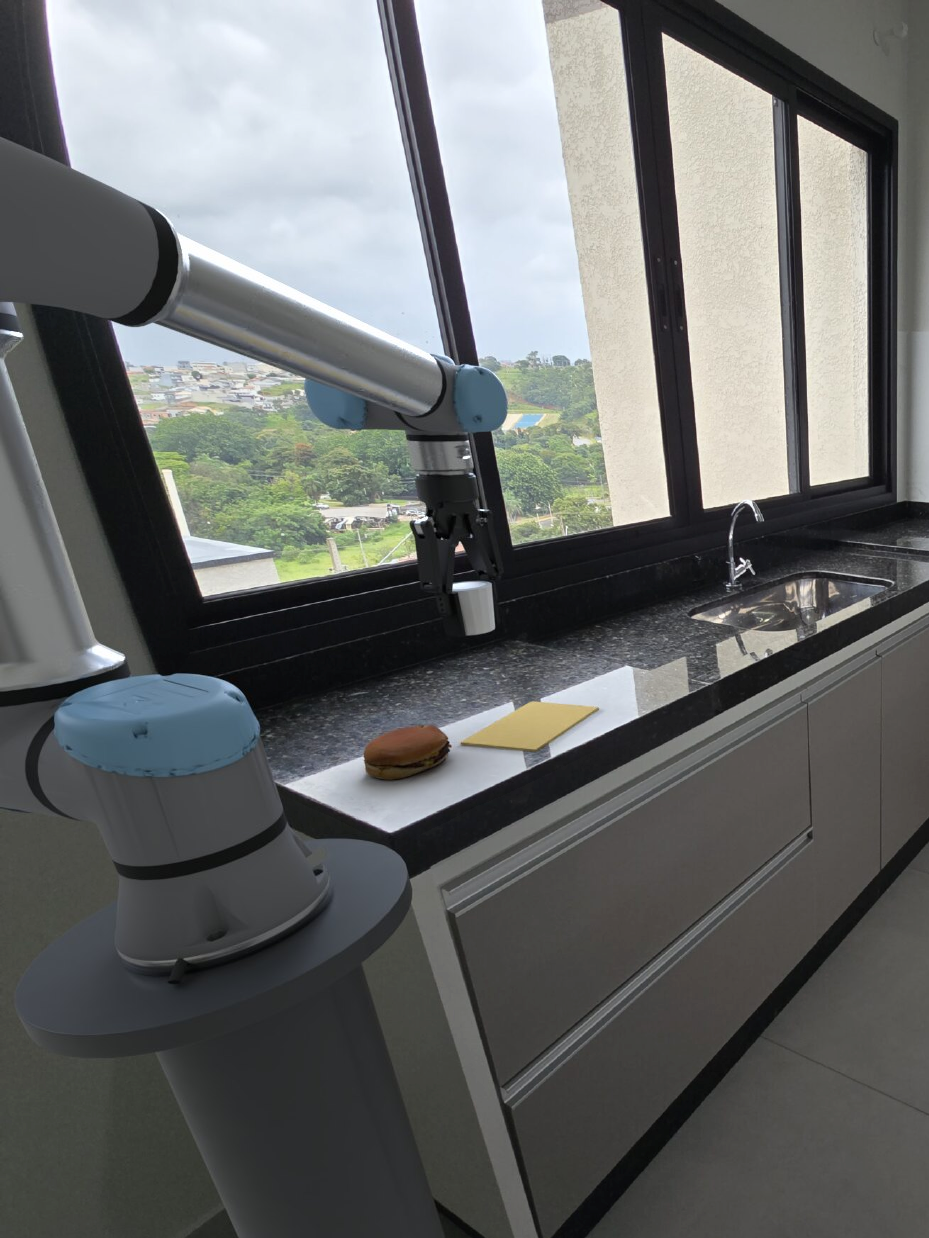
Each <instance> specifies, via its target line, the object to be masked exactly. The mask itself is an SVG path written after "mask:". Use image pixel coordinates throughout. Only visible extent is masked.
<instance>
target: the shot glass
mask: <svg viewBox="0 0 929 1238" xmlns="http://www.w3.org/2000/svg"><path fill="white" fill-rule="evenodd" d="M452 592H458V596H459V602H460V607H461V612H462V617H463V622H464V628H465V633H466V636H477V635H482V634H486V633H487V634H488V633H490V632H492V631H494V630H495V629H496V623H495V620H494V608H493V596H492V584H491V583H490V582H485V581H481V580H468V581H458V582H453V589H452Z"/></svg>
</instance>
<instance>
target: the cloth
mask: <svg viewBox="0 0 929 1238" xmlns="http://www.w3.org/2000/svg"><path fill="white" fill-rule="evenodd" d="M599 709H600V707H599V706H591V705H581V704H580V705H579V704H569V703H568V704H567V703H556V702H546V701H545V702H544V701H534V700H533V701H532V700H531V701H530V702H528V703H526V704H525V705H522V706H520V707H519V708H517V709H515V710H514V711H512V712H510V713H508V714H507V715H506V716H503V717H502V718H500V719H498V720H496V721H495V722H493V723H491V724H489V725H488V726H486V727H484V728H482V729H481V730H479V731H477V732H476V733H474V734H472V735H470V736H469V737H467V738H465V739H463V740H461V741H460V742H459V743H460V745H462V746H471V747H483V748H493V749H502V750H514V751H523V752H524V751H525V752H538V751H539V750H541V749H542V748H543V747H545V746H547V745H548V744H549V743H551V742H553V741H554V740H555V739H556V738H558V737H560V736H561V735H563V734H564V733H566V732H567V731H569V730H570V729H572V728H573V727H575V726H576V725H578V724H580V723H581V722H582V721H583V720H585V719H587V718H588V717H589V716H591V715H592V714H594V713H595V712H597V711H598V710H599Z"/></svg>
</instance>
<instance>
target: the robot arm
mask: <svg viewBox="0 0 929 1238" xmlns="http://www.w3.org/2000/svg"><path fill="white" fill-rule="evenodd" d="M14 303H17V304H27V305H28V304H29V305H39V306H46V307H47V306H48V307H56V308H62V309H66V310H71V311H75V312H79V313H84V314H88V315H91V316H95V317H99V318H102V319H103V320H108V321H110V322H113V323H116V324H119V325H122V326H125V327H129V328H141V327H145V326H148V325H151V324H155V325H158V326H161V327H163V328H166V329H169V330H172V331H174V332H177V333H179V334H182V335H185V336H187V337H188V336H189V337H190V338H193V339H197V340H199V341H202V342H204V343H208V344H210V345H212V346H215V347H219V348H220V349H224V350H227V351H229V352H232V353H235V354H237V355H240V356H243V357H246V358H249V359H251V360H254V361H257V362H260V363H263V364H265V365H268V366H271V367H274V368H276V369H279V370H281V371H284V372H287V373H289V374H292V375H295V376H299V377H301V378H303V379H304V383H303V390H304V391H303V392H304V393H305V397H306V403H307V405H308V407H309V410H310V411H311V413H312V414H313V415H314V416H315V417H316V418H317V419H318V420H319V421H320V422H321V423H322V424H324V425H325V426H327V427H329V428H332V429H335V430H348V431H349V430H350V431H353V432H355V431H357V432H358V431H359V432H361V431H362V430H363V431H364V430H367V431H368V430H369V431H371V430H373V431H374V430H378V431H379V430H380V431H381V430H382V431H404V434H405V440H406V445H407V449H408V455H409V460H410V465H411V469H412V470H413V471H416V472H417V474H415V476H414V478H413V479H414V482H415V488H416V492H417V498H418V500H419V501H420V502H422V503H423V504H424V505H425V512H424V517H423V518H421V519H412V520H410V521H409V523H408V525H409V527H410V530H411V533H412V535H413V538H414V544H415V545H414V546H415V553H416V554H415V555H416V563H417V570H418V579H419V588H420V590H421V591H422V592H426V593H429V594H431V593H432V594H434V596H435V600H436V605H437V609H438V614H439V616H441V618H442V622H443V623H442V625H443V628H444V634H445V636H446V637H460V638H463V637H466V636H467V635H466V633H465V628H464V622H463V617H462V612H461V607H460V602H459V596H458V592H452V589H453V583H454V577H455V576H454V573H455V559H456V549H457V547H459V545H460V544H461V545H462V548H463V549H464V551H465V554H466V556H467V558H468V560H469V562H470V565H471V567H472V568H473V571H474V573H475V575H476V577H477V579H478V580H480V581H485V582H490V583H491V584H492V596H493V608H494V620H495V624H500V623H501V618H500V612H499V606H498V593H497V586H496V581H501V579H502V574H503V573H504V571H505V569H504V564H503V561H502V558H501V553H500V549H499V543H498V541H497V536H496V533H495V530H494V513H493V511H492V510H491V509H478V507H477V505H476V504H475V501H477V500H478V499H479V498H480V492H479V487H478V481H477V477H476V475H475V474H474V473H472V472H471V470H473V469H474V461H473V455H472V452H471V451H472V450H471V444H470V438H469V434H476V433H482V432H485V433H486V432H494V431H496V430H498V429H500V428H501V427H502V426H503V425H504V423H505V422H506V420H507V416H508V411H509V410H508V409H509V408H508V406H509V399H508V393H507V391H506V388H505V385H503V382H502V380H501V379H500V378H499V377H498V376H497V375H496V374H495V373H494V372H493V371H492V370H490V369H488V368H486V367H483V366H479V365H470V364H469V363H462V364H461V365H457V364H455V362H454V360H453V359H452V358H450V357H449V356H447V355H445V354H437V353H428V352H425V351H423V350H422V349H419V348H418V347H415V346H413V345H411V344H409V343H406V342H405V341H403V340H401V339H398V338H396V337H394V336H391V335H389V334H388V333H385V332H383V331H381V330H379V329H378V328H375V327H373V326H371V325H369V324H367V323H364V322H362V321H361V320H358V319H356V318H354V317H353V316H351V315H348V314H346V313H344V312H342V311H340V310H338V309H336V308H334V307H332V306H329V305H327V304H326V303H323V302H321V301H319V300H317V299H315V298H312V297H310V296H308V295H306V294H304V293H302V292H300V291H298V290H296V289H294V288H293V287H290V286H288V285H286V284H284V283H282V282H279V281H277V280H275V279H273V278H271V277H269V276H266V275H265V274H263V273H261V272H259V271H256V270H254V269H252V268H250V267H248V266H246V265H244V264H242V263H239V262H238V261H237V260H233V259H231V258H229V257H227V256H225V255H223V254H221V253H219V252H217V251H215V250H213V249H210V248H208V247H207V246H204V245H202V244H200V243H198V242H196V241H194V240H192V239H191V238H189V237H188V238H187V237H185V236H183V235H182V234H179V233H178V231H177V230H176V228H175V226H174V224H173V223H172V222H171V221H170V219H169V218H168V217H167V216H166V215H165V213H163V212H162V211H160V210H158V209H157V208H155V207H153V206H150V205H149V204H147V203H145V202H143V201H141V200H139V199H136V198H135V197H132V196H131V195H128V194H126V193H124V192H122V191H121V190H118V189H117V188H115V187H112V186H111V185H108V184H106V183H104V182H102V181H100V180H98V179H95V178H93V177H91V176H89V175H87V174H85V173H83V172H80V171H79V170H77V169H75V168H72V167H70V166H67V165H66V164H64V163H61V162H59V161H57V160H55V159H53V158H51V157H48V156H46V155H44V154H42V153H40V152H37V151H35V150H32V149H30V148H27V147H25V146H23V145H21V144H18V143H16V142H14V141H11V140H9V139H6V138H4V137H2V136H0V809H2V810H6V811H8V812H13V813H19V814H20V813H21V814H36V815H37V814H38V815H45V816H50V817H55V818H60V819H61V818H62V819H67V820H71V821H79V822H83V823H90V824H95V826H96V827H97V829H98V832H99V834H100V836H101V838H102V840H103V842H104V844H105V847H106V849H107V851H108V854H109V856H110V858H111V860H112V862H113V865H114V868H115V870H116V873H117V876H118V878H119V879H118V880H119V883H118V893H117V900H118V904H117V920H116V930H115V947H116V950H117V952H118V954H119V956H120V959H121V961H122V963H123V965H124V966H125V967H126V968H127V969H129V970H130V971H132V972H135V973H138V974H142V975H149V976H170V978H169V980H168V982H167V983H169V984H179V983H180V982H181V980H182V978H183V975H184V974H189V973H195V972H199V971H204V970H208V969H212V968H216V967H220V966H223V965H226V964H230V963H233V962H236V961H238V960H241V959H244V958H247V957H249V956H252V955H254V954H256V953H259V952H261V951H263V950H265V949H268V948H270V947H272V946H274V945H276V944H278V943H279V942H281V941H283V940H285V939H287V938H288V937H290V936H292V935H293V934H295V933H297V932H298V931H300V930H301V929H303V928H304V927H305V926H307V925H308V924H309V923H310V922H312V921H313V920H314V919H315V918H316V917H317V916H318V915H319V914H321V913H322V911H323V910H324V909H325V908H326V907H327V905H328V904H329V902H330V900H331V898H332V895H333V885H332V882H331V878H330V875H329V872H328V870H327V869H326V868H325V866H324V865H323V863H322V861H324V860H325V859H326V858H327V854H326V851H325V848H324V845H323V846H321V847H320V848H319V849H317V850H316V851H315V852H312V851H311V850H310V849H309V848H308V847H307V846H306V845H305V844H304V842H303V841H304V840H302V839H301V838H300V837H299V836H298V835H297V833H296V832H295V831H294V830H293V829H292V828H291V827H290V824H289V822H288V819H287V816H286V813H285V810H284V807H283V803H282V800H281V797H280V794H279V791H278V790H279V789H278V787H277V785H276V781H275V778H274V775H273V771H272V769H271V765H270V762H269V759H268V756H267V753H266V749H265V747H264V744H263V740H262V737H261V726H260V721H259V720H258V719H257V716H256V715H255V714H254V711H253V709H252V707H251V706H250V703H249V701H248V700H247V698H246V696H245V694H244V693H243V692H242V691H241V690H240V689H239V688H238V687H237V686H236V685H234V684H232V683H230V682H229V681H226V680H223V679H220V678H218V677H214V676H208V675H202V674H195V673H173V674H170V675H161V674H149V675H148V674H146V675H138V676H133V675H132V671H131V668H130V666H129V662H128V660H127V657H126V655H125V654H124V653H122V652H120V651H117V650H115V649H113V648H110V647H108V646H106V645H104V644H102V643H100V642H99V641H98V640H97V638H96V637H95V633H94V630H93V628H92V624H91V622H90V618H89V615H88V612H87V610H86V606H85V603H84V601H83V597H82V594H81V591H80V588H79V585H78V582H77V579H76V576H75V573H74V569H73V567H72V563H71V560H70V558H69V555H68V551H67V548H66V545H65V542H64V539H63V536H62V534H61V530H60V527H59V524H58V521H57V518H56V515H55V512H54V509H53V506H52V503H51V500H50V496H49V494H48V491H47V490H48V489H47V487H46V485H45V481H44V479H43V478H44V477H43V476H42V472H41V470H40V466H39V463H38V460H37V456H36V455H35V451H34V448H33V445H32V442H31V439H30V436H29V433H28V429H27V427H26V423H25V421H24V417H23V414H22V412H21V409H20V405H19V403H18V400H17V399H18V398H17V397H16V393H15V390H14V387H13V384H12V381H11V378H10V375H9V372H8V369H7V366H6V363H5V359H6V357H7V354H9V353H10V352H11V351H13V349H15V347H17V346H18V345H19V344H20V343H21V342H22V341H24V339H25V337H24V333H23V329H22V327H21V324H20V321H19V318H18V315H17V311H16V309H15V305H14Z"/></svg>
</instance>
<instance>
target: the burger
mask: <svg viewBox="0 0 929 1238" xmlns="http://www.w3.org/2000/svg"><path fill="white" fill-rule="evenodd" d="M452 748H453V745H452V744H451V741H450V740H449V737H448V736H447V734H445V732H444V731H442V729H440V728H439V727H438V726H435V725H432V724H419V725H413V726H406V727H401V728H397V729H393V730H391V731H388V732H385V733H382V734H380V735H379V736H377V737H375V738H374V739H372V740H371V741H370V742H369V743H368V744H367V745H365V747H364V750H363V763H364V768H365V773H366V774H367V775H368V776H370V777H373V778H376V779H381V780H388V781H394V780H399V779H404V778H408V777H411V776H413V775H416V774H418V773H421V772H423V771H426V770H427V769H431V768H434V767H436V766H437V765H439V764H441V763H442V762H443V761H444V759H446V758H447V757H448V756H449V753H450V752H451V749H452Z"/></svg>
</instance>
